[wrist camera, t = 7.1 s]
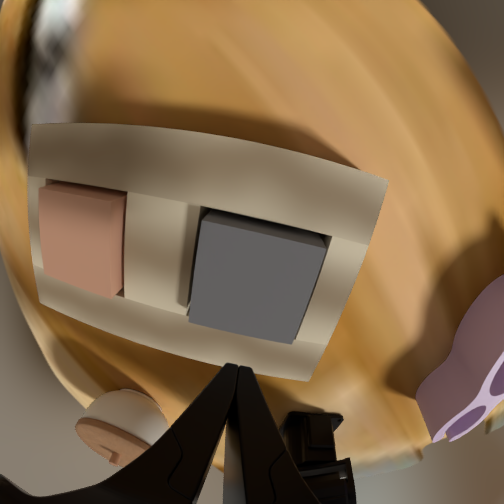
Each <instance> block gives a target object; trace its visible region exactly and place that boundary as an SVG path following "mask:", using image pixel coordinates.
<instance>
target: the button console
mask: <svg viewBox="0 0 504 504" xmlns="http://www.w3.org/2000/svg"><path fill="white" fill-rule="evenodd" d="M61 181H67V182H74V183H80V184H86V185H92V186H98V187H104V188H110V189H116V190H122V191H127V192H128V194H127V206H126V221H125V243H124V286H123V287H122V288H121V289H120V291H119V292H118V293H117V294H116V295H115V296H114V297H113V298H112V299H109V298H106V297H104V296H101V295H98V294H95V293H92V292H89V291H87V290H84V289H81V288H79V287H76V286H73V285H71V284H68V283H65V282H63V281H60V280H58V279H55V278H53V277H50V276H48V275H46V274H44V268H43V260H42V252H41V241H40V228H39V197H38V193H39V188H40V187H44V186H47V185H50V184H54V183H57V182H61ZM388 182H389V180H387V179H384V178H381V177H378V176H375V175H373V174H370V173H367V172H364V171H361V170H358V169H355V168H351V167H348V166H345V165H342V164H339V163H335V162H332V161H328V160H325V159H321V158H318V157H314V156H311V155H307V154H303V153H299V152H295V151H291V150H287V149H283V148H279V147H275V146H270V145H266V144H261V143H256V142H252V141H247V140H241V139H236V138H231V137H225V136H219V135H213V134H207V133H201V132H194V131H186V130H178V129H170V128H161V127H151V126H139V125H125V124H105V123H49V124H32V129H31V137H30V147H29V161H28V220H29V234H30V245H31V253H32V261H33V268H34V274H35V280H36V286H37V291H38V296H39V300H40V303H41V304H44V305H46V306H48V307H50V308H52V309H54V310H56V311H58V312H60V313H63V314H65V315H67V316H69V317H72V318H74V319H76V320H79V321H81V322H83V323H86V324H88V325H91V326H93V327H96V328H98V329H101V330H103V331H106V332H109V333H111V334H114V335H117V336H119V337H122V338H125V339H128V340H131V341H134V342H137V343H140V344H143V345H146V346H149V347H152V348H155V349H158V350H162V351H165V352H168V353H172V354H175V355H179V356H183V357H186V358H190V359H194V360H198V361H201V362H205V363H210V364H214V365H218V366H222V367H223V366H224V365H225V363H227V362H228V363H233V364H237V365H238V366H240V365H243V366H248V367H251V368H252V369H253V372H254V373H256V374H262V375H267V376H273V377H279V378H286V379H293V380H300V381H309V379H310V378H311V376H312V374H313V372H314V370H315V368H316V366H317V364H318V362H319V360H320V358H321V356H322V354H323V352H324V350H325V348H326V346H327V344H328V342H329V340H330V338H331V336H332V334H333V331H334V329H335V327H336V325H337V323H338V320H339V318H340V316H341V314H342V311H343V309H344V307H345V304H346V302H347V300H348V297H349V295H350V293H351V290H352V288H353V285H354V283H355V280H356V278H357V275H358V273H359V270H360V267H361V265H362V262H363V259H364V257H365V254H366V251H367V248H368V246H369V243H370V240H371V237H372V234H373V231H374V228H375V225H376V222H377V219H378V216H379V213H380V210H381V206H382V203H383V200H384V196H385V193H386V189H387V186H388ZM213 208H214V209H219V210H224V211H228V212H233V213H237V214H242V215H246V216H251V217H255V218H260V219H264V220H268V221H273V222H277V223H281V224H285V225H290V226H294V227H298V228H302V229H306V230H310V231H314V232H318V233H319V235H320V237H321V239H322V241H323V243H324V245H325V247H326V252H325V255H324V258H323V261H322V264H321V267H320V270H319V273H318V276H317V279H316V282H315V285H314V287H313V290H312V293H311V296H310V299H309V301H308V304H307V307H306V309H305V312H304V315H303V317H302V320H301V323H300V325H299V328H298V330H297V333H296V336H295V338H294V341H293V343H292V345H290V344H285V343H279V342H274V341H269V340H264V339H259V338H254V337H249V336H244V335H240V334H235V333H231V332H226V331H222V330H218V329H213V328H209V327H205V326H201V325H197V324H193V323H190V322H188V320H189V311H190V302H191V294H192V286H193V278H194V270H195V263H196V256H197V249H198V242H199V235H200V229H201V223H202V220H203V218H204V217H205V216H206V215H207V214H208V213H209V212H210V211H211V210H212V209H213Z"/></svg>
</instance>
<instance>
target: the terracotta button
mask: <svg viewBox="0 0 504 504" xmlns="http://www.w3.org/2000/svg"><path fill="white" fill-rule="evenodd" d="M127 194H128V192H127V191H122V190H116V189H110V188H104V187H98V186H92V185H86V184H80V183H74V182H67V181H61V182H57V183H54V184H50V185H47V186H44V187H40V188H39V193H38V197H39V228H40V241H41V252H42V260H43V268H44V274H46V275H48V276H50V277H53V278H55V279H58V280H60V281H63V282H65V283H68V284H71V285H73V286H76V287H79V288H81V289H84V290H87V291H89V292H92V293H95V294H98V295H101V296H104V297H106V298H109V299H112V298H113V297H114V296H115V295H116V294H117V293H118V292H119V291H120V289H121V288H122V287H123V286H124V243H125V221H126V206H127Z"/></svg>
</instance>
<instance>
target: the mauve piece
mask: <svg viewBox="0 0 504 504" xmlns="http://www.w3.org/2000/svg"><path fill="white" fill-rule="evenodd" d="M503 399H504V274H503V275H501V276H500V277H498V278H497V279H495V280H494V281H493V282H491V283H490V284H489V285H488V286H487V287H486V288H485V289H484V290H483V291H482V292H481V293H480V294H479V296H478V297H477V298H476V299H475V301H474V302H473V303H472V305H471V306H470V308H469V309H468V311H467V312H466V314H465V315H464V317H463V319H462V321H461V323H460V325H459V327H458V329H457V332H456V334H455V337H454V341H453V346H452V350H451V352H450V354H449V356H448V357H447V359H446V360H445V361H444V362H443V363H442V364H441V365H440V366H439V367H438V368H436V369H435V370H434V371H433V372H431V373H430V374H429V375H428V376H427V377H426V378H425V379H424V381H423V382H422V383H421V384H420V386H419V388H418V390H417V392H416V401H417V403H418V406H419V408H420V411H421V413H422V416H423V418H424V421H425V423H426V426H427V428H428V431H429V434H430V436H431V439H432V442H433V443H435V442H437V441H439V440H440V439H442V438H443V437H444V434H445V432H446V435H447V437H448V440H449V442H451V441H453V440H455V439H457V438H459V437H461V436H463V435H464V434H466V433H468V432H469V431H470V430H472V429H473V428H474V427H476V426H477V425H478V424H479V423H480V422H481V421H482V420H483V419H484V418H485V417H486V416H487V415H488V414H489V413H490V412H491V410H492V409H493V408H494V407H495V406H496V405H497V404H498V403H499V402H501V401H502V400H503Z"/></svg>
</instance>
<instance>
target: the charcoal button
mask: <svg viewBox="0 0 504 504" xmlns="http://www.w3.org/2000/svg"><path fill="white" fill-rule="evenodd" d="M325 252H326V247H325V245H324V243H323V241H322V239H321V237H320V235H319V233H318V232H314V231H310V230H306V229H302V228H298V227H294V226H290V225H285V224H281V223H277V222H273V221H268V220H264V219H260V218H255V217H251V216H246V215H242V214H237V213H233V212H228V211H224V210H219V209H214V208H213V209H212V210H211V211H210V212H209V213H208V214H207V215H206V216H205V217H204V218H203V220H202V223H201V229H200V235H199V242H198V249H197V256H196V263H195V270H194V278H193V286H192V294H191V302H190V311H189V320H188V322H190V323H193V324H197V325H201V326H205V327H209V328H213V329H218V330H222V331H226V332H231V333H235V334H240V335H244V336H249V337H254V338H259V339H264V340H269V341H274V342H279V343H285V344H290V345H292V343H293V341H294V338H295V336H296V333H297V330H298V328H299V325H300V323H301V320H302V317H303V315H304V312H305V309H306V307H307V304H308V301H309V299H310V296H311V293H312V290H313V287H314V285H315V282H316V279H317V276H318V273H319V270H320V267H321V264H322V261H323V258H324V255H325Z"/></svg>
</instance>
